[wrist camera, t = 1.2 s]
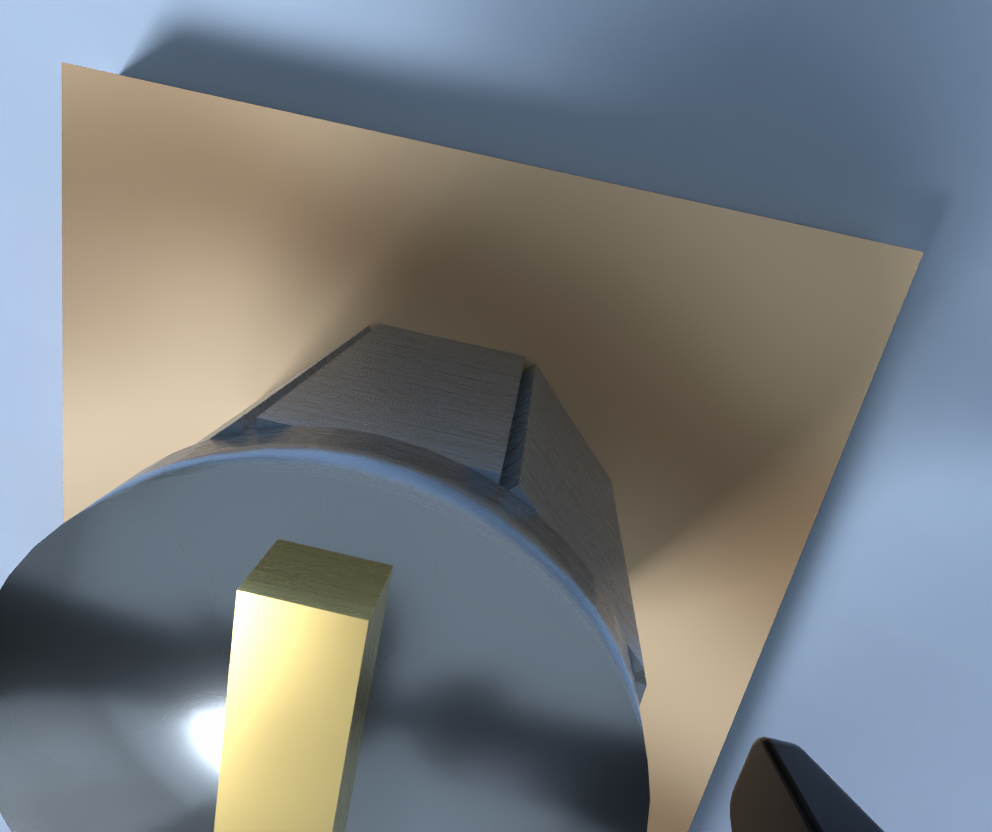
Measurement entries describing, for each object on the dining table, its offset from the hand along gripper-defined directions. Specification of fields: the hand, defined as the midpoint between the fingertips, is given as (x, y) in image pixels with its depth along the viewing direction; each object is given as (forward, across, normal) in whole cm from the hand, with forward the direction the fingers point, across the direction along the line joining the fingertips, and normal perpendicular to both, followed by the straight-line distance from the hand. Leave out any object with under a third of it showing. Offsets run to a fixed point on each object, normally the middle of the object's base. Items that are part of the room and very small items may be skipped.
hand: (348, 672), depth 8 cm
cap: (+4, 0, 0) cm, 4 cm away
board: (+5, 0, +4) cm, 7 cm away
